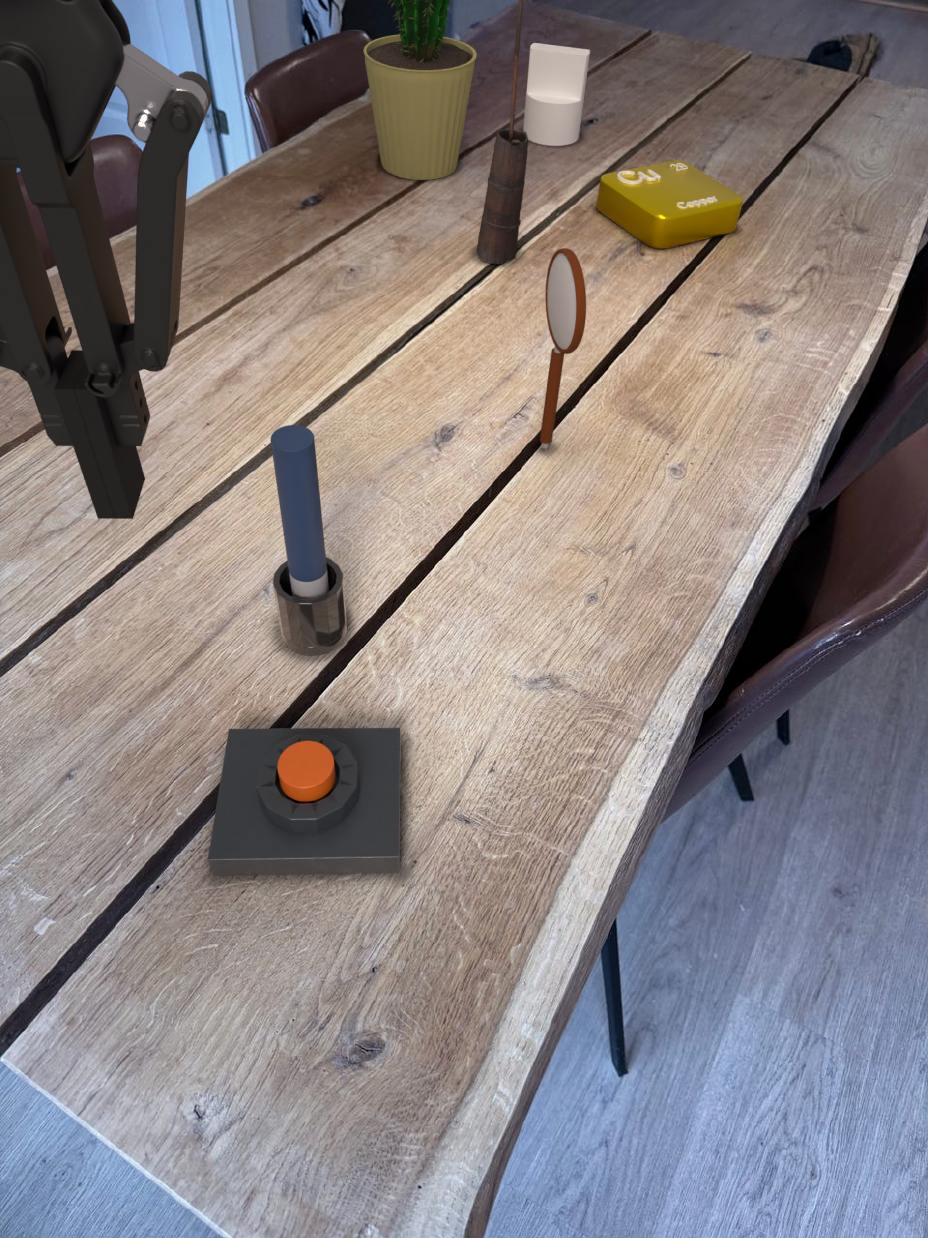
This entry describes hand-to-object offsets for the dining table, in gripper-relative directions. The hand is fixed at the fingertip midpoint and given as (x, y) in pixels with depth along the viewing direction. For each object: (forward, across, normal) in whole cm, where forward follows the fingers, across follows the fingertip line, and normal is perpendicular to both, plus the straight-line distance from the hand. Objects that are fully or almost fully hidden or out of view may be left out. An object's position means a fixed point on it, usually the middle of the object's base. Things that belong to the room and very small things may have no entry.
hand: (122, 497), depth 40 cm
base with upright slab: (+29, +35, +122) cm, 130 cm away
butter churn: (+29, +24, +80) cm, 88 cm away
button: (+25, +6, +1) cm, 26 cm away
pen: (+27, +5, +17) cm, 33 cm away
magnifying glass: (+29, +26, +41) cm, 56 cm away
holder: (+28, +5, +17) cm, 33 cm away
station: (+28, +6, +1) cm, 29 cm away
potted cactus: (+29, +14, +109) cm, 114 cm away
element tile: (+29, +48, +93) cm, 108 cm away
